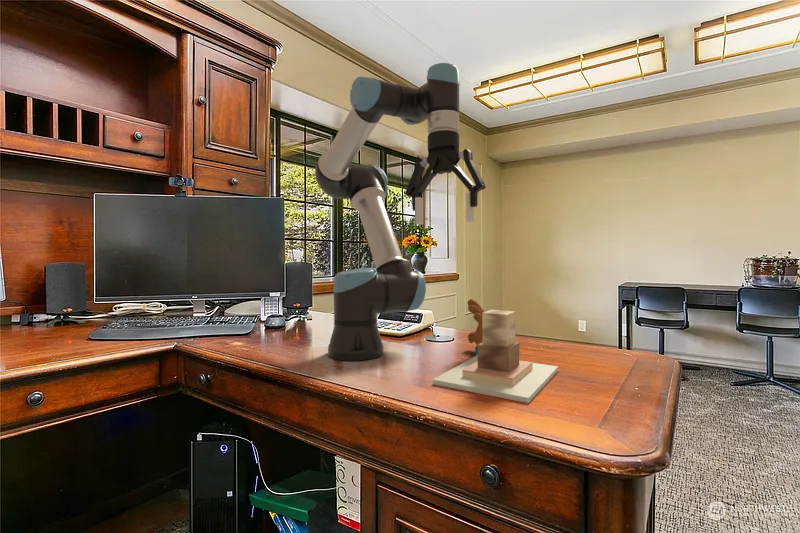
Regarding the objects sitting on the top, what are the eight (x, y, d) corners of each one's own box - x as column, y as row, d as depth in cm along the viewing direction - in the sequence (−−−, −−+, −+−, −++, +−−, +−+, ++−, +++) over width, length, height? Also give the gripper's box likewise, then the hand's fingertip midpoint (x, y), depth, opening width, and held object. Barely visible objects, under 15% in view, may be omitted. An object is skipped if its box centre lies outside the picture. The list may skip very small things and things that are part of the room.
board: (432, 384, 85) (432, 372, 85) (477, 358, 105) (477, 349, 105) (528, 403, 74) (528, 389, 74) (558, 370, 94) (558, 360, 94)
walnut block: (477, 367, 88) (477, 344, 88) (489, 360, 94) (489, 338, 94) (508, 372, 85) (509, 348, 84) (519, 364, 90) (519, 342, 90)
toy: (467, 348, 116) (467, 296, 116) (492, 349, 115) (492, 296, 115) (467, 359, 104) (467, 301, 104) (495, 360, 103) (495, 302, 103)
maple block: (482, 344, 88) (482, 312, 88) (491, 339, 93) (491, 309, 93) (507, 347, 85) (507, 314, 85) (515, 342, 90) (515, 311, 90)
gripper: (391, 138, 100) (392, 224, 101) (487, 119, 86) (487, 219, 87) (407, 144, 106) (408, 225, 107) (499, 128, 92) (499, 221, 93)
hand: (443, 223), depth 97 cm, fingers open, 13 cm apart
